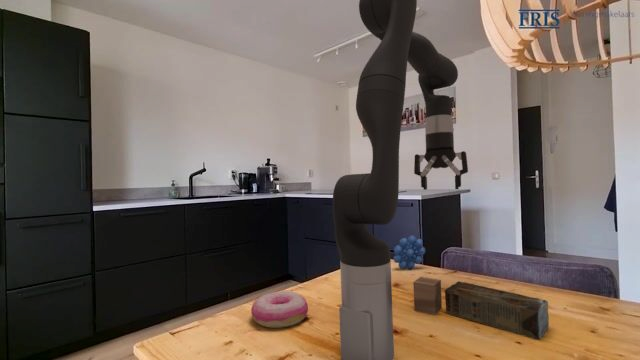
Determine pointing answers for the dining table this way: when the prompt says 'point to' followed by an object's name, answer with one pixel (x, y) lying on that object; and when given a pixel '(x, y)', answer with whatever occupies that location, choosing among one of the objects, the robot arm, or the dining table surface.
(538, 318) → the beverage carton
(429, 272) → the dining table surface
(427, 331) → the dining table surface
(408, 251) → the grapes
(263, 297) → the donut
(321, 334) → the dining table surface
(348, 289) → the robot arm
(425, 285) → the walnut block
